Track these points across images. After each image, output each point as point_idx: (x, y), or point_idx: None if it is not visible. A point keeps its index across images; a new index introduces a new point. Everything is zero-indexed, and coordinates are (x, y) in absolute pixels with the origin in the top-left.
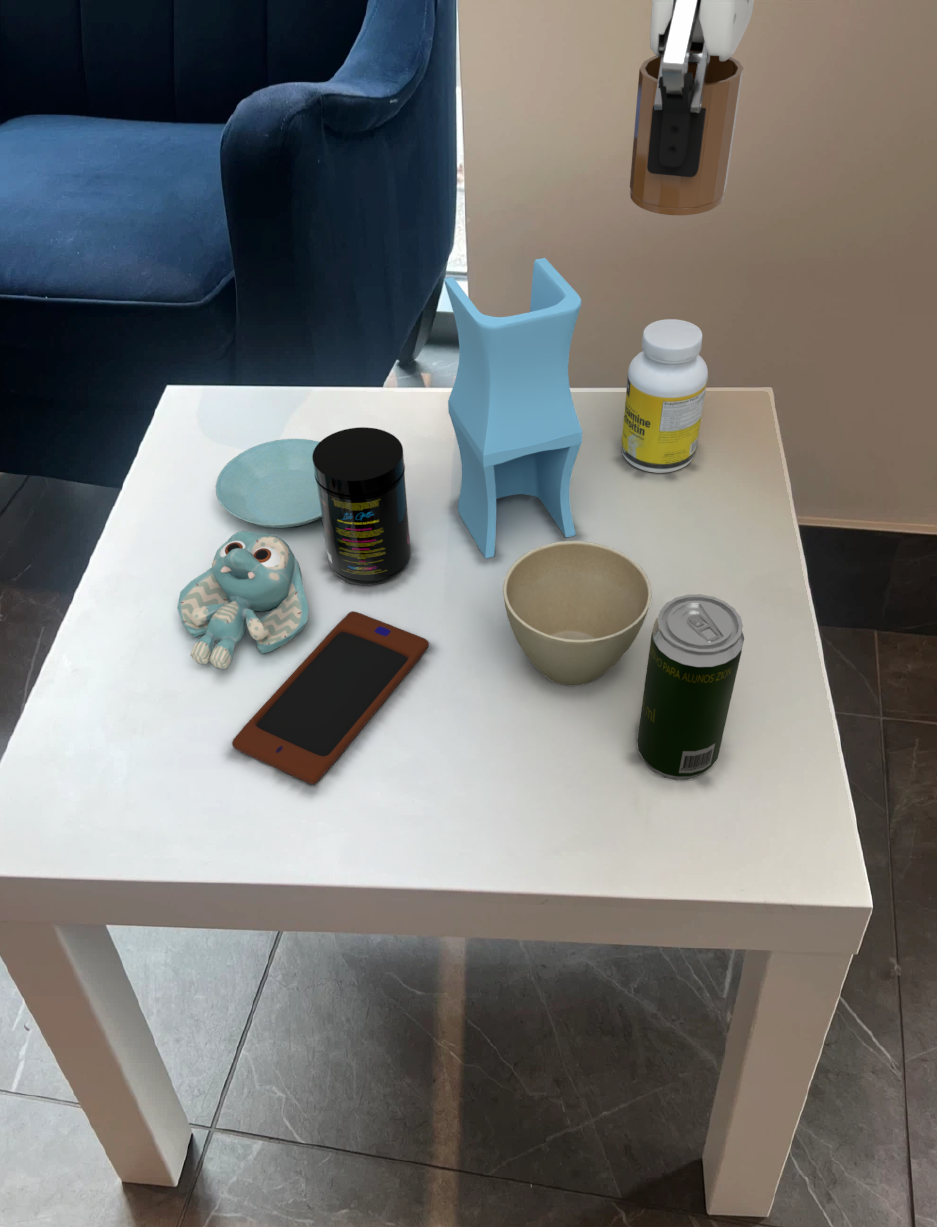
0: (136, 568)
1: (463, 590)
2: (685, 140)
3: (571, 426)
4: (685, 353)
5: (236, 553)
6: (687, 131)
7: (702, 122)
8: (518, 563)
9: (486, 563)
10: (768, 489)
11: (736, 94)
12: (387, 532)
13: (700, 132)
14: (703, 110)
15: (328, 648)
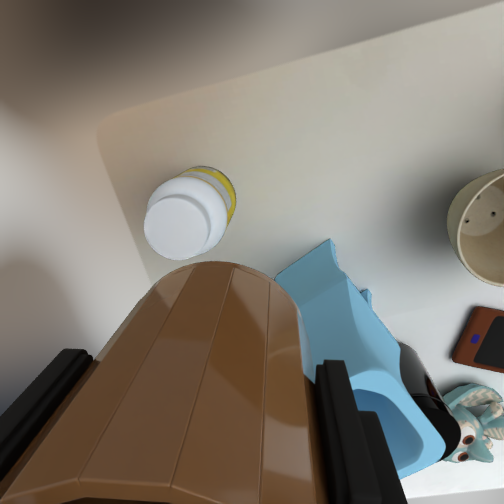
0: (418, 480)
1: (408, 299)
2: (391, 459)
3: (352, 290)
4: (201, 209)
5: (490, 459)
6: (399, 480)
7: (371, 465)
8: (491, 281)
9: (375, 291)
10: (226, 91)
11: (198, 423)
12: (426, 374)
13: (366, 441)
14: (374, 501)
15: (491, 363)
